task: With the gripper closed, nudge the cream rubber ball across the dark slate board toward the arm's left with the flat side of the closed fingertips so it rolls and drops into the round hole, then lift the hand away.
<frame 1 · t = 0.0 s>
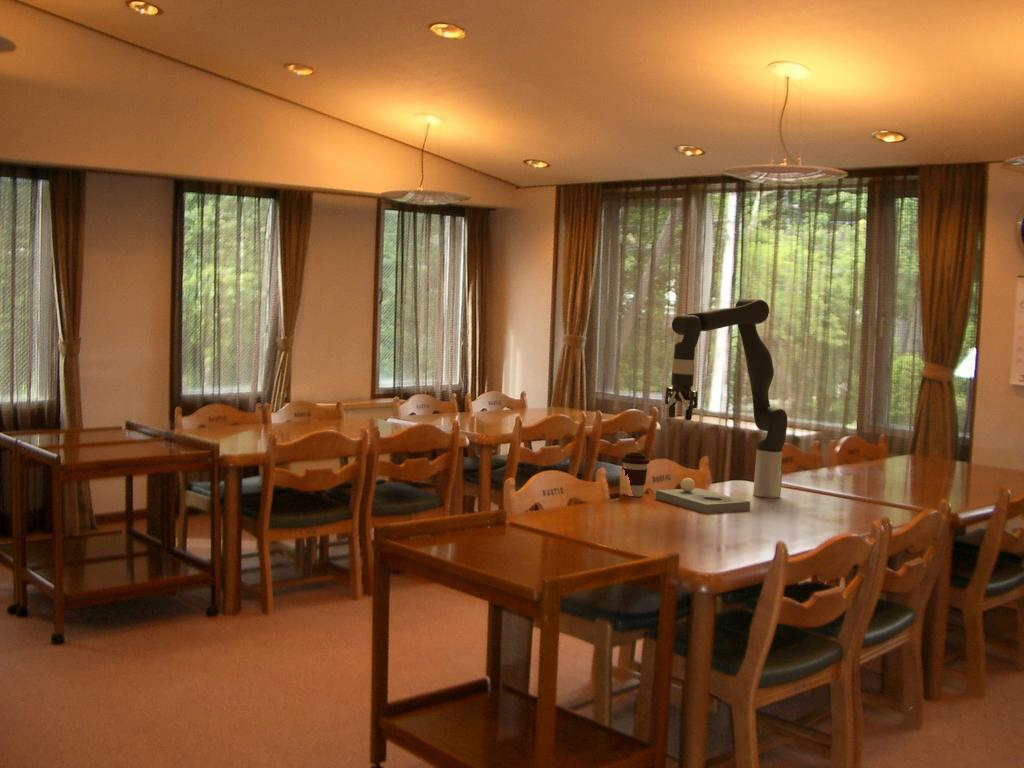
hand: (679, 418, 363), 29 cm above the table, fingers open, 8 cm apart
deck: (702, 504, 363), on the table
coffee cup: (632, 495, 373), on the table
ball: (687, 484, 369), point 5 cm above the table, touching deck
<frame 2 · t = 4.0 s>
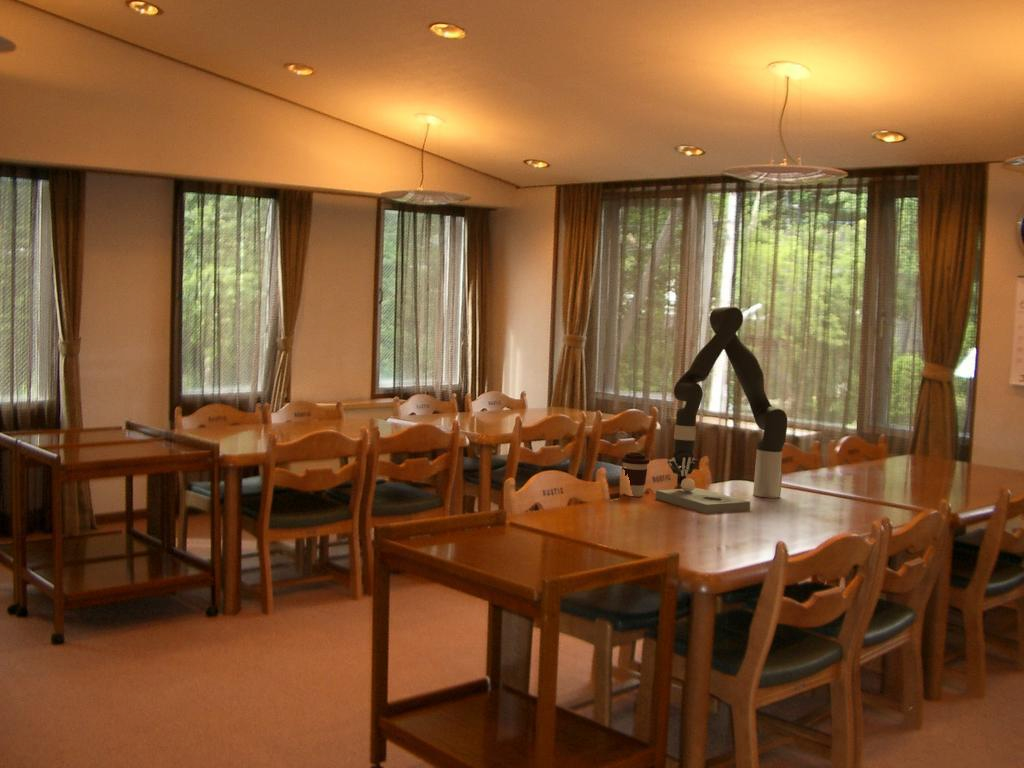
hand: (681, 485, 372), 4 cm above the table, fingers closed
ball: (687, 484, 369), point 5 cm above the table, touching deck, gripper
everything else where it was.
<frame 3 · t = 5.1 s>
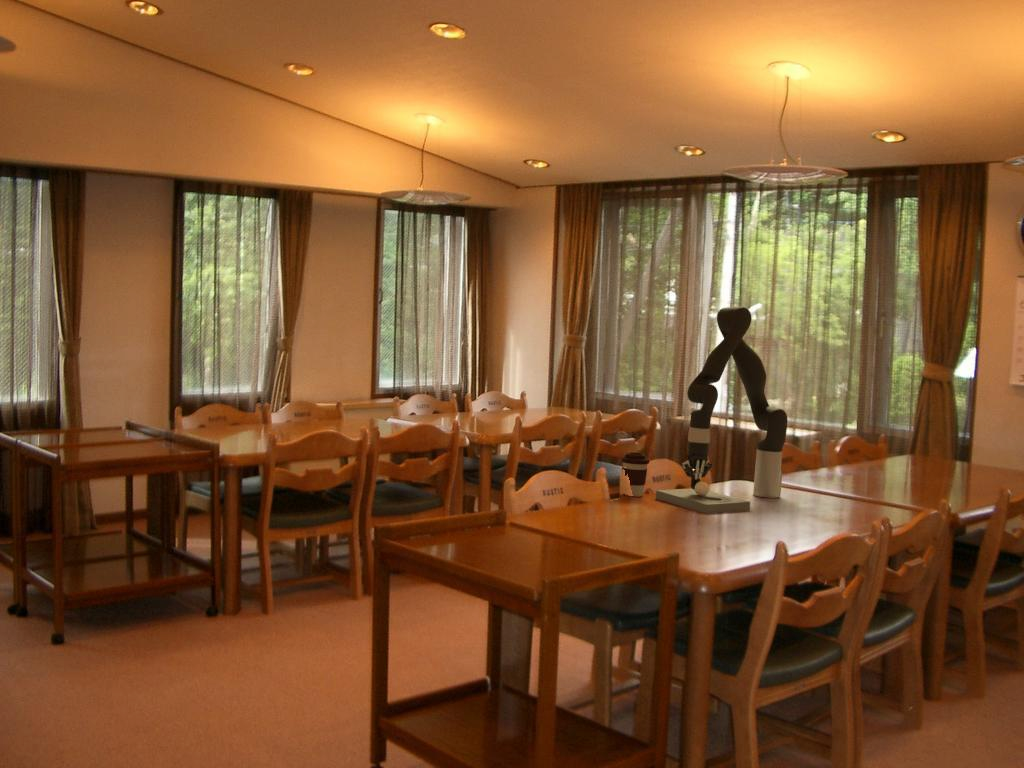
hand: (694, 489, 366), 5 cm above the table, fingers closed
ball: (701, 488, 363), point 5 cm above the table, tilted 127°, touching deck, gripper
everything else where it was.
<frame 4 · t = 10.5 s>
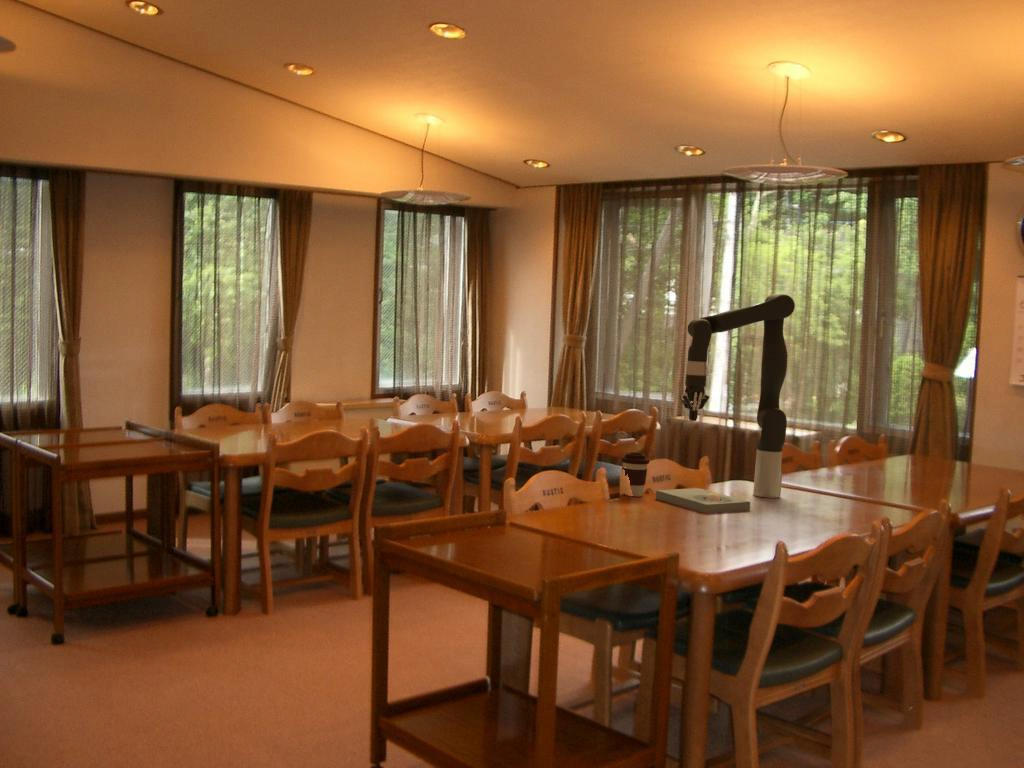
hand: (692, 420, 382), 27 cm above the table, fingers closed
ball: (712, 500, 358), point 2 cm above the table, tilted 57°
everything else where it was.
at the end: ball 0.2 cm from the target spot on the deck, point 2.5 cm above the deck's base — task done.
